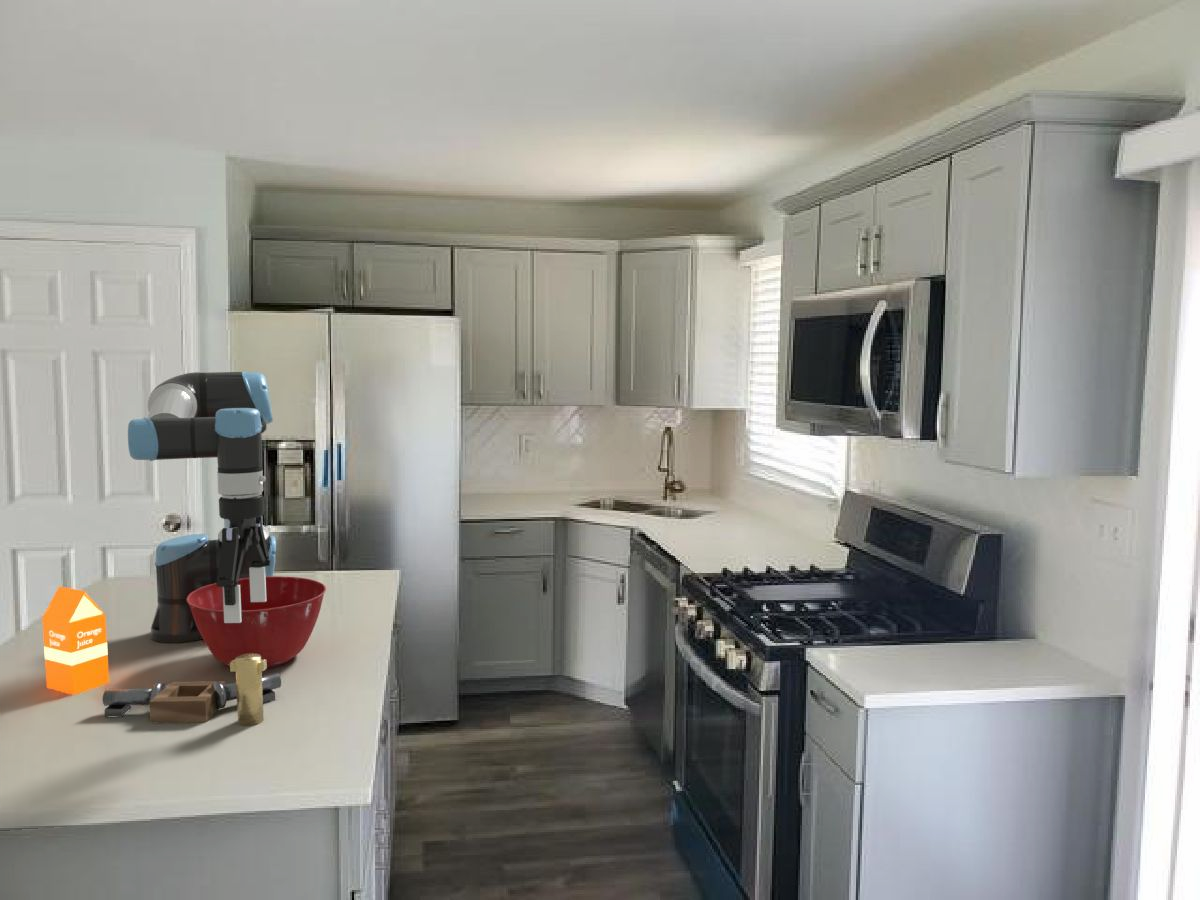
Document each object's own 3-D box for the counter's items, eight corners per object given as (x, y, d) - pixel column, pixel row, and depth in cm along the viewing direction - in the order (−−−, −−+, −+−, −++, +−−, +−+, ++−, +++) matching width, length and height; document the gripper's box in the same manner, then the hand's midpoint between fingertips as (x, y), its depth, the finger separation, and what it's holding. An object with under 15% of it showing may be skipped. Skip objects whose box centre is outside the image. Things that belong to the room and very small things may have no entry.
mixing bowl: (350, 643, 211) (348, 578, 209) (284, 687, 183) (281, 613, 181) (241, 636, 217) (238, 572, 215) (160, 677, 189) (156, 605, 187)
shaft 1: (167, 707, 173) (166, 679, 173) (156, 717, 168) (154, 688, 168) (114, 707, 173) (112, 679, 172) (100, 718, 168) (99, 689, 167)
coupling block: (173, 702, 176) (172, 681, 175) (226, 701, 176) (225, 681, 176) (150, 722, 166) (149, 701, 165) (206, 721, 166) (205, 700, 166)
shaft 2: (221, 714, 169) (220, 686, 169) (211, 707, 173) (210, 679, 172) (284, 698, 177) (282, 671, 177) (273, 691, 181) (272, 664, 180)
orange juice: (83, 675, 190) (77, 582, 188) (110, 682, 186) (104, 587, 184) (45, 688, 183) (39, 590, 181) (72, 695, 179) (66, 596, 177)
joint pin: (238, 716, 169) (235, 653, 167) (271, 716, 169) (268, 653, 168) (229, 726, 164) (226, 661, 163) (263, 725, 164) (261, 661, 163)
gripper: (238, 506, 150) (243, 631, 152) (283, 485, 175) (287, 593, 177) (191, 506, 149) (198, 632, 152) (243, 485, 174) (248, 594, 176)
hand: (246, 611), depth 164 cm, fingers open, 13 cm apart
